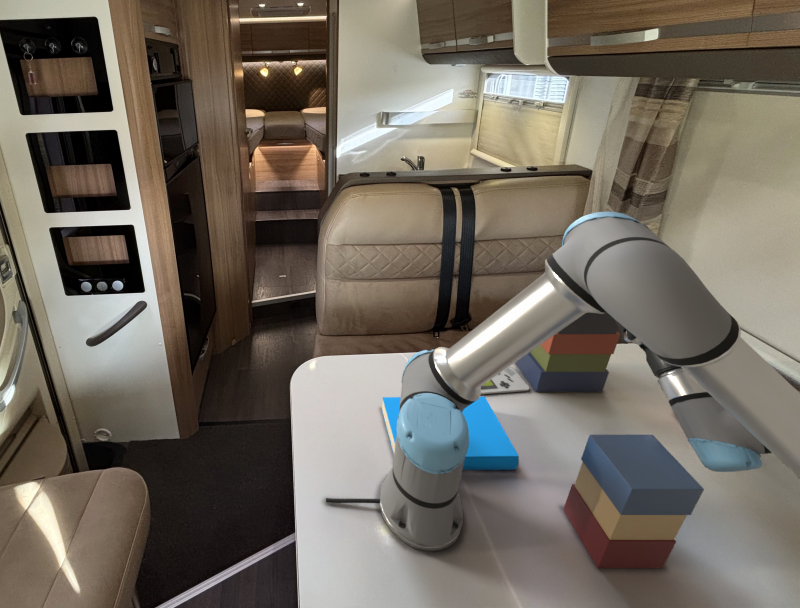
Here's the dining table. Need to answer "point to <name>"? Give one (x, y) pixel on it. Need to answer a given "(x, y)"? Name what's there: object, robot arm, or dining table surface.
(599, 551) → the low stack
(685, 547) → the dining table surface
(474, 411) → the book
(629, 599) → the dining table surface
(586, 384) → the book stack
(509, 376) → the handheld gaming device
